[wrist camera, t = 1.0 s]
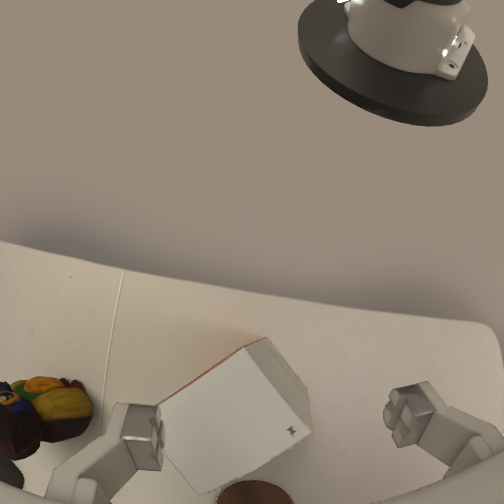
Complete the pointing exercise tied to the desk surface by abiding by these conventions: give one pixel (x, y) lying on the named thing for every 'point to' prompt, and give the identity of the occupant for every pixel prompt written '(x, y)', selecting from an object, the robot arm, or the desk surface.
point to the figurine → (40, 414)
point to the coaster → (254, 494)
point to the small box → (235, 417)
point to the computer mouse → (10, 473)
